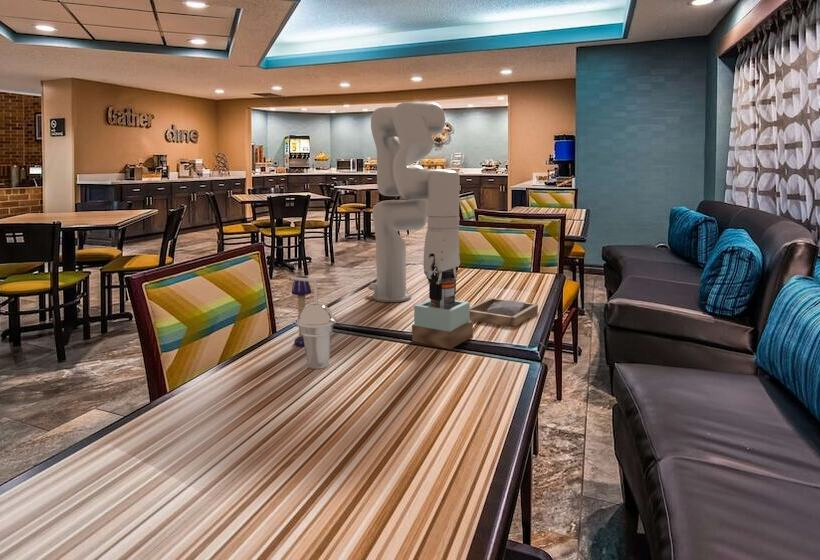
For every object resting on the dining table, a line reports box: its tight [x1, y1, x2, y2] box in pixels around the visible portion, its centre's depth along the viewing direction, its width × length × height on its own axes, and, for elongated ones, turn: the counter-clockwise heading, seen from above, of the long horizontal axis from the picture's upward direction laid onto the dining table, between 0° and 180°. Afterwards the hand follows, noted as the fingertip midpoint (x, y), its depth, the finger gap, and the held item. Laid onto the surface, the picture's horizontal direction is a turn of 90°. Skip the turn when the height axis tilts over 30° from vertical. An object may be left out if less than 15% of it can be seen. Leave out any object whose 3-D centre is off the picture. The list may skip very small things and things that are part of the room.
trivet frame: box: [469, 297, 539, 327], centre depth 156 cm, size 15×17×2 cm
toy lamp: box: [291, 275, 312, 347], centre depth 131 cm, size 5×5×17 cm
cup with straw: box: [289, 276, 337, 370], centre depth 116 cm, size 8×9×20 cm
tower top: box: [413, 298, 471, 332], centre depth 134 cm, size 10×10×5 cm
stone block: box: [486, 299, 526, 316], centre depth 156 cm, size 12×5×10 cm
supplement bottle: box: [431, 269, 456, 309], centre depth 133 cm, size 6×6×11 cm
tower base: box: [411, 320, 474, 350], centre depth 135 cm, size 11×11×4 cm
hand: (442, 296), depth 133 cm, fingers closed on supplement bottle, 6 cm apart
